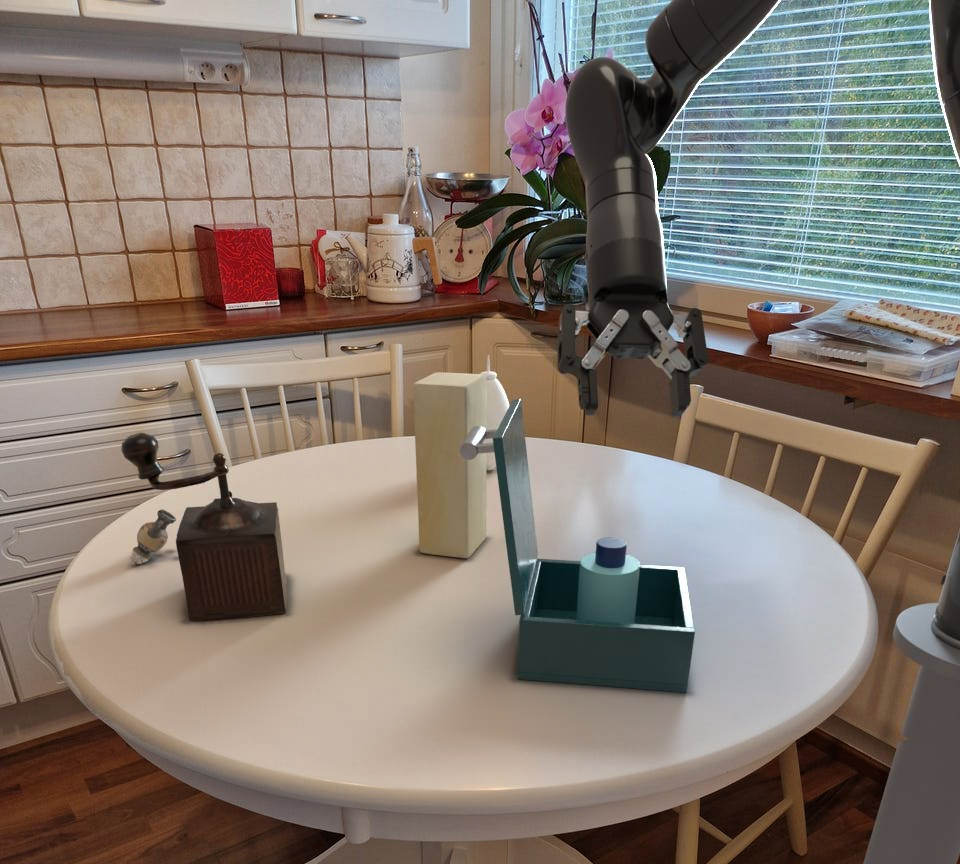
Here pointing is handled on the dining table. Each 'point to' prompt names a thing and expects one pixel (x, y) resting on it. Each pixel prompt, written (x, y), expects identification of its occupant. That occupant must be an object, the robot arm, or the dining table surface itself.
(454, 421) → the toy refrigerator
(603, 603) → the water bottle
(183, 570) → the manual coffee grinder
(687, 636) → the teal open box
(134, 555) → the vase
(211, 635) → the dining table surface
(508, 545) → the teal box lid
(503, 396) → the sauce bottle
